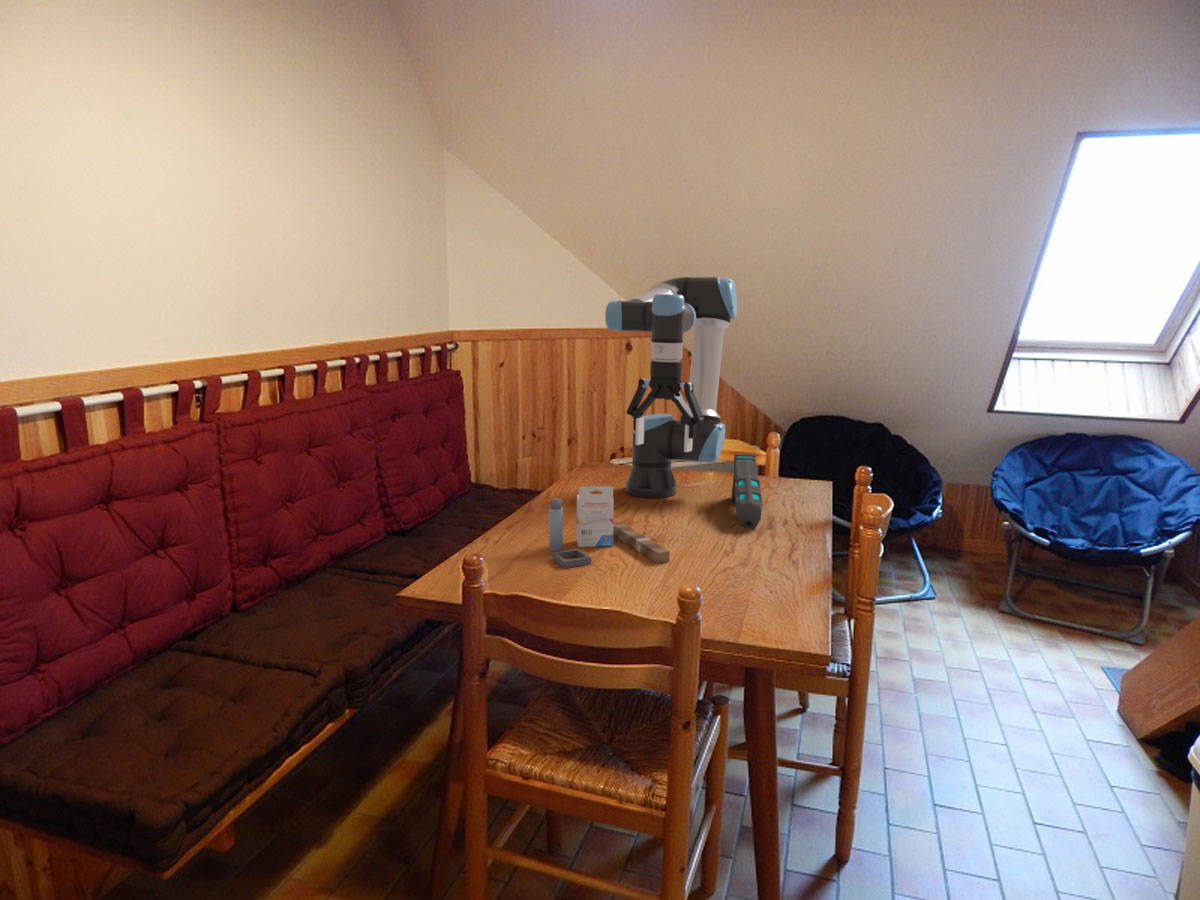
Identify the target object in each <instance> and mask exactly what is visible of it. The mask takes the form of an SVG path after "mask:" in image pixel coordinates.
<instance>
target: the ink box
mask: <svg viewBox="0 0 1200 900" xmlns="http://www.w3.org/2000/svg"><path fill="white" fill-rule="evenodd" d="M595 491H597V492H601V493H591V492H595ZM614 503H615V501H614V487H613V486H612V485H611V486H602V485H601V486H580V487H579V488H578V494H576V543H577V547H579V548H583V547H584V548H585V547H586V548H588V547H592V548H594V547H613V546H614V535H613V522H614V506H615V505H614Z"/></svg>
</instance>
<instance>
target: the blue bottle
mask: <svg viewBox="0 0 1200 900" xmlns="http://www.w3.org/2000/svg"><path fill="white" fill-rule="evenodd" d="M548 539H549V540H548V549H549V551H550V552H559V551H564V550H563V549H564V546H563V545H564V541H563V539H564V508H563V506H562V499H561V498H558V497H557V498H556V497H554V498H551V499H550V507H549V508H548Z"/></svg>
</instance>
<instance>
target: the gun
mask: <svg viewBox="0 0 1200 900" xmlns="http://www.w3.org/2000/svg"><path fill="white" fill-rule="evenodd" d="M762 496H763V495H762V488H761V481H760V478H759V475H758V469H757V461H756V454H753V453H752V454H751V453H734V456H733V479H732V488H731V503H734V505H735V513H736V516H737V520H738V523H739V525H740V527H741V528H744V529H745V528H746V529H755V528H757V527H758V525H759V523H760V521H761V519H762V509H763V497H762Z"/></svg>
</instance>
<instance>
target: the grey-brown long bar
mask: <svg viewBox="0 0 1200 900" xmlns="http://www.w3.org/2000/svg"><path fill="white" fill-rule="evenodd" d="M613 537H616V538H617V539H619V540H620V541H622V542H623V543H625V544H626V545H628V546H630V547H631V548H632V549H634V550H636V551H637V552H639V553H640V554H642V555H643V556H645V557H646V558H648V559H650V560H651V561H652V562H654V563H656V565H657V564H662V563H670V551H669V549H667V548H665V547H663V546H662V545H660V544H658V543H656V542H655V541H653V539H652V538H649V537H647V536H645V535H643V534H642V533H640V532H638V531H637V530H635V529H634V528H632V527H630V526H628V525H627V524H625V523H623V522H622V521H615V522H614V521H613Z"/></svg>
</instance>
